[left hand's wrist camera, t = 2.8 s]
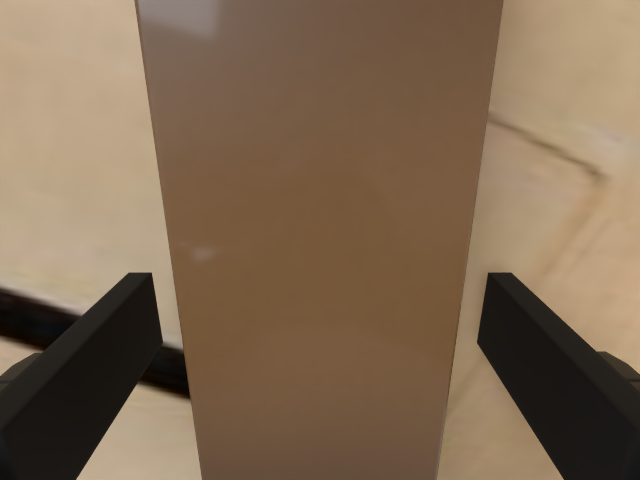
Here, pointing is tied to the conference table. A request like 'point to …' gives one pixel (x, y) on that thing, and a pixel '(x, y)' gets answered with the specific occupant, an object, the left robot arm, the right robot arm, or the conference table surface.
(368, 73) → the bar
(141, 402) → the conference table surface
